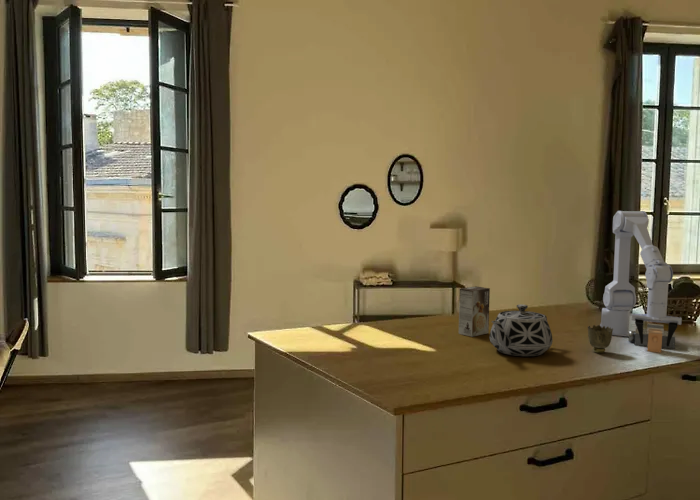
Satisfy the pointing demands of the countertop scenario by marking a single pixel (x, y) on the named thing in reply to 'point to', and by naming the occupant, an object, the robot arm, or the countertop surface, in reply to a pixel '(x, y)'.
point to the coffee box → (474, 311)
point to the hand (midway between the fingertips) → (654, 344)
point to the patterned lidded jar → (521, 333)
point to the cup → (599, 337)
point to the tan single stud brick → (654, 341)
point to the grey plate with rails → (635, 336)
